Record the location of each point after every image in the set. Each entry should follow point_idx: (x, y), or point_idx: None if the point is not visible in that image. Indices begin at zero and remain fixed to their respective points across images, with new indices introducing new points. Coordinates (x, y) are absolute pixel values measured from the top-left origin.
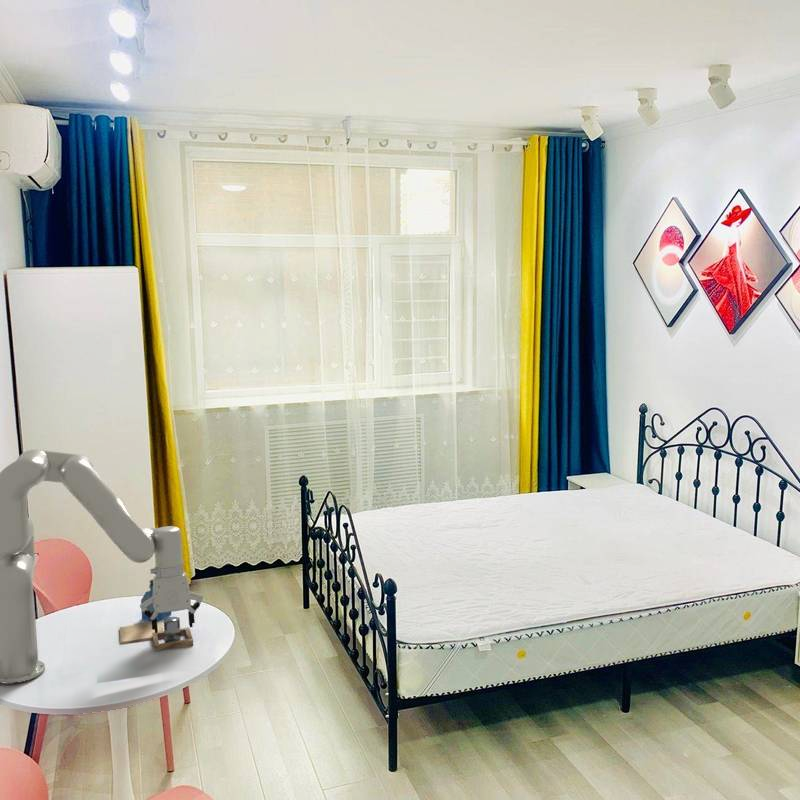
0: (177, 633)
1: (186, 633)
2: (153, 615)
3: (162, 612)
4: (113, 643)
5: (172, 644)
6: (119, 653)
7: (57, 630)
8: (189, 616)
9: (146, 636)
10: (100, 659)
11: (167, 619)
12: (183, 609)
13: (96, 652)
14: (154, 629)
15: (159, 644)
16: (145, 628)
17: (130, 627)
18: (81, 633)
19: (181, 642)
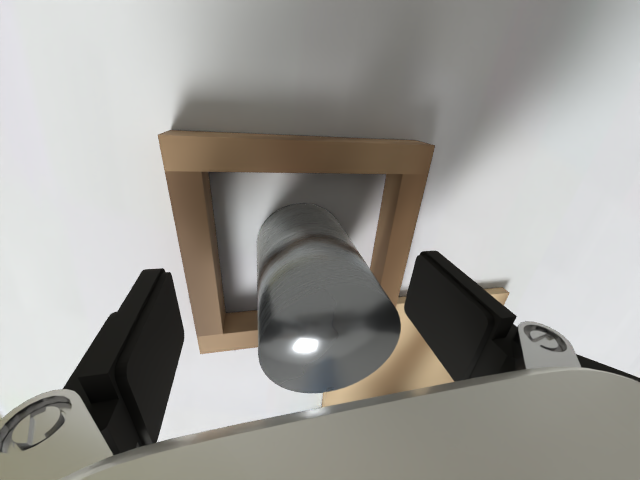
0: (279, 240)
1: (217, 284)
2: (561, 359)
3: (542, 372)
4: (517, 299)
5: (321, 141)
6: (551, 190)
7: None
8: (132, 351)
9: (407, 318)
10: (636, 153)
11: (364, 354)
12: (172, 441)
13: (600, 237)
14: None
15: (403, 159)
16: (388, 385)
17: None
18: None
19: (256, 138)
